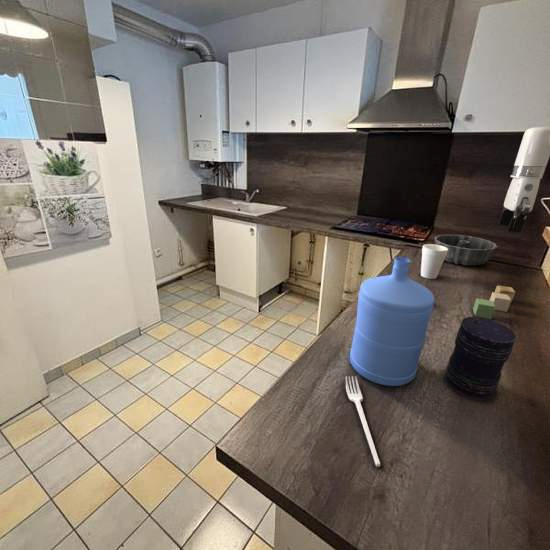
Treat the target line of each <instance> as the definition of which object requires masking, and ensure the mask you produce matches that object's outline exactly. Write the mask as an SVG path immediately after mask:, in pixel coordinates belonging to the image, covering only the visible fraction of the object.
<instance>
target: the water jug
mask: <svg viewBox="0 0 550 550" xmlns="http://www.w3.org/2000/svg"><path fill="white" fill-rule="evenodd" d="M393 259H394V260H393V261H394V264H393V265H392V272H391V274H387V275H382V276H381V275H380V276H374V277H369V278H368V279H365V280H363V282H362V283H361V284H360V288H359V291H358V296H357V297H358V298H357V308H356V321H355V325H354V333H353V335H352V341H351V343H352V344H351V348H350V353H349V361H350V363H351V366H352V367H353V369H354V370H355V372H357V373H358V374H359V375H360V376H361V377H362V378H364V379H366V380H368V381H370V382H372V383H374V384H378V385H382V386H386V387H399V386H404V385H407V384H409V383H411V382H412V381H413V380H414V379H415V377H416V376H417V371H418V366H419V361H420V358H421V355H422V354H421V353H422V350H423V348H424V345H425V340H426V334H427V330H428V327H429V323H430V319H431V317H432V314H433V310H434V303H435V296H434V294H433V293H432V291H431V290H430V289H429V288H428V287H426V286H424V285H422V284H420V283H418V282H417V281H415V280H413V279H411V278H409V277H408V272H409V270H410V267H409V266H410V263H411V259H409V258H407V257H403V256H402V257H400V256H397V257H394V258H393Z"/></svg>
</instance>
